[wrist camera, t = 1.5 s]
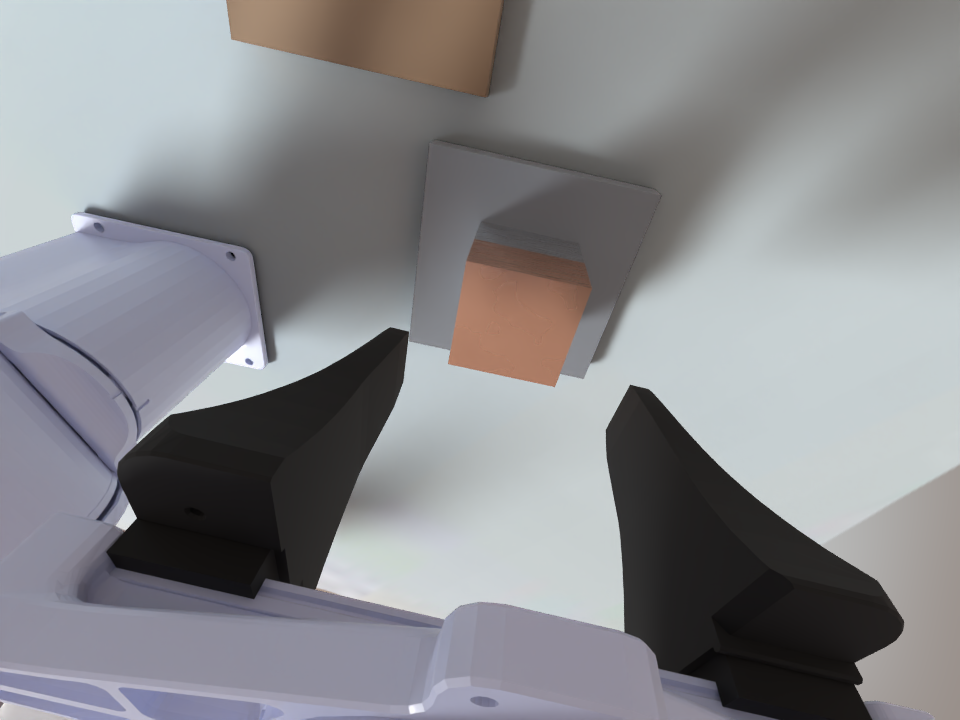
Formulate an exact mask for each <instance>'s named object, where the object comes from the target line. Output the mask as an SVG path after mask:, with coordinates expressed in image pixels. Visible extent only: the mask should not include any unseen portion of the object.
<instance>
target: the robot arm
mask: <svg viewBox="0 0 960 720" xmlns="http://www.w3.org/2000/svg"><path fill="white" fill-rule="evenodd" d="M71 221H72V224H73V227H74V229H75V232H76V233H73V234H70V235H67V236H64V237H61V238H58V239H54V240H51V241H48V242H45V243H42V244H39V245H36V246H33V247H30V248H27V249H24V250H21V251H18V252H15V253H12V254H9V255H6V256H3V257H0V702H4V703H8V704H12V705H17V706H21V707H25V708H29V709H34V710H38V711H42V712H46V713H50V714H53V715H57V716H61V717H65V718H69V719H73V720H935V719H934V717H933V716H932V715H931V714H929V713H927V712H925V711H921V710H917V709H912V708H908V707H904V706H900V705H895V704H891V703H887V702H880V701H865V702H863V701H862V699H861V697H860V695H859V693H858V691H857V689H856V687H855V685H859V684H862V681H863V678H862V676H861V675H860V673H859V671H858V669H857V667H856V665H855V662H857V661H859V660H860V659H862V658H864V657H866V656H868V655H871V654H873V653H874V652H877V651H878V650H880V649H883V648H885V647H886V646H888V645H889V644H891V643H893V642H894V641H896V640H897V638H898V637H899V636H900V635H901V633H902V631H903V627H904V620H903V619H902V617H901V616H900V614H899V613H898V611H897V609H896V608H895V606H894V605H893V603H892V602H891V600H890V599H889V597H888V596H887V594H886V593H885V591H884V590H883V588H882V587H881V585H880V584H879V582H878V581H877V580H875V579H874V578H872V577H870V576H869V575H867V574H865V573H864V572H862V571H860V570H859V569H857V568H856V567H854V566H852V565H851V564H849V563H847V562H846V561H844V560H843V559H841V558H839V557H838V556H836V555H834V554H833V553H831V552H830V551H828V550H827V549H825V548H823V547H822V546H821V545H819V544H818V543H816V542H815V541H813V540H812V539H810V538H809V537H807V536H806V535H804V534H803V533H801V532H800V531H799V530H797V529H796V528H794V527H793V526H792V525H790V524H789V523H787V522H786V521H785V520H783V519H782V518H781V517H779V516H778V515H777V514H775V513H774V512H773V511H772V510H770V509H769V508H768V507H766V506H765V505H764V504H763V503H761V502H760V501H759V500H758V499H756V498H755V497H754V496H753V495H752V494H750V493H749V492H748V491H747V490H746V489H744V488H743V487H742V486H741V485H740V484H739V483H738V482H737V481H735V480H734V479H733V478H732V477H731V476H730V475H729V474H728V473H727V472H725V471H724V470H723V469H722V468H721V467H720V466H719V465H718V464H717V463H716V462H715V461H714V460H713V459H712V458H711V457H710V456H709V455H708V454H707V453H706V452H705V451H704V450H703V449H702V448H701V446H700V445H699V444H698V443H697V442H696V441H695V440H694V439H693V438H692V437H691V436H690V435H689V433H688V432H687V431H686V430H685V429H684V428H683V427H682V426H681V424H680V423H679V422H678V421H677V420H676V419H675V417H674V416H673V415H672V414H671V413H670V412H669V411H668V409H667V408H666V407H665V406H664V405H663V404H662V403H661V401H660V400H659V399H658V398H657V397H656V396H655V395H654V394H653V393H652V392H651V391H650V390H649V389H646V388H641V387H637V386H633V385H630V386H629V388H628V390H627V392H626V394H625V396H624V397H623V399H622V401H621V403H620V405H619V407H618V408H617V410H616V412H615V414H614V416H613V418H612V420H611V421H610V423H609V425H608V427H607V429H606V452H607V462H608V468H609V474H610V479H611V485H612V490H613V495H614V501H615V506H616V511H617V516H618V522H619V529H620V538H621V551H622V565H623V586H624V629H625V633H624V632H622V631H619V630H615V629H610V628H606V627H602V626H597V625H593V624H589V623H584V622H580V621H576V620H571V619H567V618H563V617H558V616H554V615H550V614H545V613H541V612H537V611H532V610H528V609H524V608H519V607H515V606H511V605H506V604H498V603H488V602H477V603H472V604H467V605H461V606H459V607H458V608H457V609H455V610H454V611H453V612H452V613H451V614H450V615H449V616H447V617H446V618H445V620H444V619H440V618H435V617H431V616H427V615H422V614H418V613H414V612H409V611H405V610H401V609H396V608H392V607H388V606H383V605H379V604H375V603H370V602H366V601H361V600H357V599H353V598H348V597H344V596H340V595H335V594H331V593H327V592H322V591H318V590H315V589H316V587H317V584H318V581H319V578H320V575H321V572H322V570H323V567H324V564H325V561H326V559H327V556H328V553H329V550H330V548H331V545H332V542H333V540H334V537H335V534H336V531H337V529H338V526H339V524H340V521H341V518H342V516H343V513H344V511H345V508H346V506H347V503H348V500H349V498H350V495H351V493H352V490H353V488H354V485H355V483H356V481H357V478H358V476H359V473H360V471H361V469H362V467H363V465H364V463H365V461H366V459H367V457H368V455H369V453H370V451H371V449H372V447H373V446H374V444H375V442H376V440H377V438H378V436H379V434H380V432H381V431H382V429H383V427H384V425H385V423H386V421H387V419H388V417H389V415H390V413H391V412H392V410H393V408H394V405H395V403H396V400H397V397H398V395H399V392H400V389H401V386H402V384H403V379H404V371H405V362H406V354H407V345H408V337H409V332H408V331H404V330H400V329H396V328H391V327H390V328H388V329H386V330H385V331H383V332H382V333H381V334H379V335H378V336H376V337H375V338H373V339H372V340H370V341H369V342H367V343H366V344H365V345H363V346H362V347H360V348H358V349H357V350H355V351H354V352H352V353H350V354H349V355H347V356H346V357H344V358H342V359H341V360H339V361H337V362H335V363H333V364H332V365H330V366H328V367H326V368H325V369H323V370H321V371H319V372H317V373H314V374H312V375H310V376H308V377H306V378H303V379H301V380H299V381H296V382H294V383H291V384H289V385H286V386H283V387H280V388H277V389H274V390H272V391H269V392H266V393H263V394H260V395H257V396H253V397H250V398H246V399H243V400H239V401H235V402H231V403H227V404H223V405H219V406H215V407H209V408H204V409H199V410H194V411H189V412H184V413H178V414H172V415H170V416H169V417H167V418H166V419H165V420H164V421H163V422H161V423H160V424H159V425H158V426H157V427H156V428H154V429H153V430H152V431H151V432H150V433H149V434H148V435H147V436H146V437H145V438H143V439H142V440H141V441H140V442H139V443H138V444H137V443H136V442H137V441H138V440H139V439H140V438H141V437H142V436H143V435H144V434H146V433H147V432H148V431H149V430H150V429H151V428H152V427H153V426H154V425H155V424H157V423H158V422H159V421H160V420H161V419H162V418H163V417H164V416H165V415H166V414H168V413H169V412H170V411H171V410H172V409H173V408H174V407H175V406H176V405H177V404H179V403H180V402H181V401H182V400H183V399H184V398H185V397H186V396H187V395H188V394H190V393H191V392H192V391H193V390H194V389H195V388H196V387H197V386H198V385H199V384H201V383H202V382H203V381H204V380H205V379H206V378H207V377H208V376H209V375H210V374H212V373H213V372H214V371H215V370H216V369H217V368H218V367H219V366H220V365H221V364H223V363H224V362H227V363H231V364H236V365H241V366H246V367H250V368H255V369H264V368H265V367H266V366H267V364H268V359H267V352H266V345H265V338H264V331H263V324H262V317H261V310H260V303H259V296H258V289H257V282H256V275H255V268H254V261H253V256H252V254H251V253H250V251H249V250H247V249H246V248H243V247H240V246H235V245H231V244H226V243H221V242H217V241H212V240H208V239H203V238H199V237H194V236H189V235H185V234H180V233H176V232H171V231H167V230H162V229H157V228H153V227H148V226H144V225H139V224H135V223H130V222H125V221H121V220H116V219H112V218H107V217H103V216H98V215H93V214H89V213H84V212H78V213H74V214H72V215H71ZM101 225H102V226H103V227H102V226H101ZM230 252H232V253H233V254H234V255H235V257H236V258H234V257H233V256H232V255H231V253H230ZM250 359H251V360H252V361H251V360H250ZM128 503H130V505H131V507H132V509H133V511H134V513H135V515H136V517H137V519H136V520H135V521H134V522H133V523H132V525H131V526H130V527H129V528H128V529H127V530H126V531H125V532H123V531H122V530H121V529H120V528H118V527H116V524H117V523H118V521H119V520H120V518H121V517H122V515H123V514H124V512H125V510H126V507H127V505H128ZM854 684H855V685H854Z"/></svg>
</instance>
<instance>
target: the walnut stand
mask: <svg viewBox="0 0 960 720" xmlns="http://www.w3.org/2000/svg"><path fill="white" fill-rule="evenodd" d="M226 1H227V9H228V17H229V24H230V32H231V39H232V40H237V41H241V42H245V43H250V44H254V45H258V46H263V47H267V48H272V49H276V50H280V51H285V52H289V53H293V54H298V55H302V56H307V57H311V58H315V59H320V60H324V61H328V62H333V63H337V64H342V65H346V66H350V67H355V68H359V69H363V70H368V71H372V72H376V73H381V74H385V75H390V76H394V77H398V78H403V79H407V80H411V81H416V82H420V83H425V84H429V85H433V86H438V87H442V88H446V89H451V90H455V91H460V92H464V93H468V94H473V95H477V96H481V97H488V94H489V88H490V83H491V77H492V71H493V65H494V59H495V53H496V47H497V41H498V35H499V29H500V23H501V17H502V11H503V5H504V0H226Z"/></svg>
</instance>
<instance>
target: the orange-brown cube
mask: <svg viewBox="0 0 960 720" xmlns="http://www.w3.org/2000/svg"><path fill="white" fill-rule="evenodd" d="M591 290H592V286H591V283H590V280H589V276H588V273H587V269H586V266H585V263H584V259H583V256H582V253H581V249H580V246H579V243H576V242H571V241H567V240H562V239H558V238H553V237H549V236H544V235H540V234H535V233H531V232H526V231H522V230H517V229H513V228H508V227H504V226H499V225H495V224H490V223H486V222H480V225H479V227H478V230H477V233H476V236H475V238H474V241H473V244H472V246H471V249H470V252H469V255H468V257H467V260H466V265H465V271H464V276H463V282H462V288H461V293H460V299H459V305H458V310H457V316H456V322H455V328H454V333H453V339H452V345H451V350H450V356H449V362H448V364H451V365H455V366H460V367H465V368H469V369H474V370H479V371H483V372H488V373H493V374H497V375H502V376H506V377H511V378H516V379H520V380H525V381H530V382H534V383H539V384H544V385H548V386H553V387H555V385H556V383H557V380H558V377H559V375H560V372H561V369H562V367H563V364H564V362H565V359H566V356H567V354H568V351H569V348H570V346H571V343H572V340H573V338H574V335H575V333H576V330H577V327H578V325H579V322H580V319H581V317H582V314H583V312H584V309H585V306H586V304H587V301H588V298H589V296H590V293H591Z"/></svg>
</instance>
